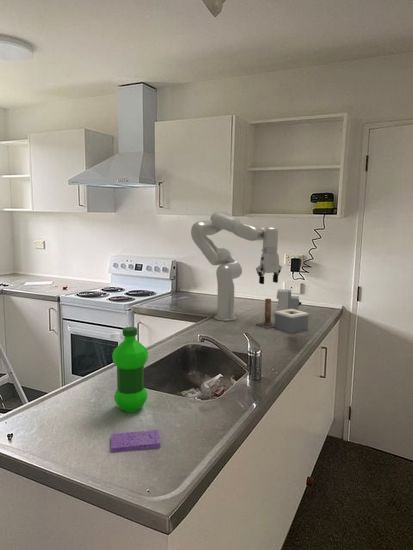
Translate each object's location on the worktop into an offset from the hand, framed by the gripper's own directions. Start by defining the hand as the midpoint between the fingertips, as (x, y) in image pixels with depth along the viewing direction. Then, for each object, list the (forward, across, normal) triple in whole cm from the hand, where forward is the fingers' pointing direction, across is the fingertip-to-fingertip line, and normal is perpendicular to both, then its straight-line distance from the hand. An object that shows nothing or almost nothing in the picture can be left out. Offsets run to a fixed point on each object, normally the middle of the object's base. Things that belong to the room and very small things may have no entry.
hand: (268, 283), depth 222 cm
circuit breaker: (+23, +26, +10) cm, 37 cm away
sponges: (+24, -108, -70) cm, 130 cm away
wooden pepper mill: (+23, 0, -1) cm, 23 cm away
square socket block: (+23, +6, -12) cm, 27 cm away
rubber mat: (+23, 0, 0) cm, 23 cm away
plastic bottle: (+23, -101, -51) cm, 115 cm away
